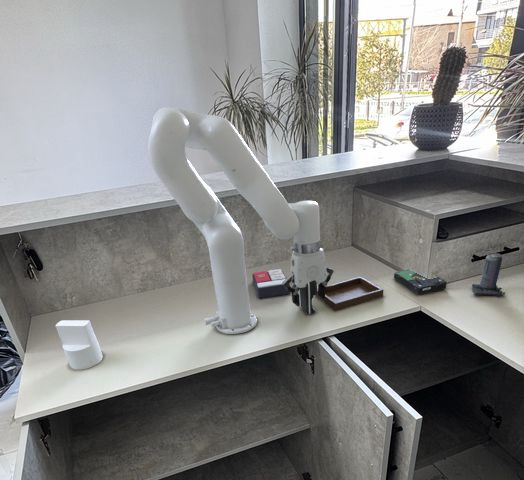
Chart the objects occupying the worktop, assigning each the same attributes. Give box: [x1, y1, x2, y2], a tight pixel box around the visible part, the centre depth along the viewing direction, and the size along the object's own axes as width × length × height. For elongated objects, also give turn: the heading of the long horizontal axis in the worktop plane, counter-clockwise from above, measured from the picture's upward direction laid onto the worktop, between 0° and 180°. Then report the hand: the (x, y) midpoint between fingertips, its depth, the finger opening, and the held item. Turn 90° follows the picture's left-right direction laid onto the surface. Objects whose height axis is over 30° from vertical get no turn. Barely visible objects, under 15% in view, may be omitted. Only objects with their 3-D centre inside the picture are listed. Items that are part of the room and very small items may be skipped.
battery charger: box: [299, 280, 318, 315], centre depth 133 cm, size 7×4×11 cm, turn 14°
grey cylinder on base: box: [471, 252, 506, 297], centre depth 132 cm, size 9×8×12 cm
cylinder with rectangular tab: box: [55, 319, 104, 370], centre depth 120 cm, size 9×9×12 cm
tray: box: [314, 276, 384, 312], centre depth 141 cm, size 18×13×3 cm
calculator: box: [251, 268, 291, 299], centre depth 152 cm, size 11×4×15 cm
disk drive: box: [393, 268, 447, 296], centre depth 144 cm, size 10×3×15 cm
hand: (309, 300), depth 134 cm, fingers open, 8 cm apart
